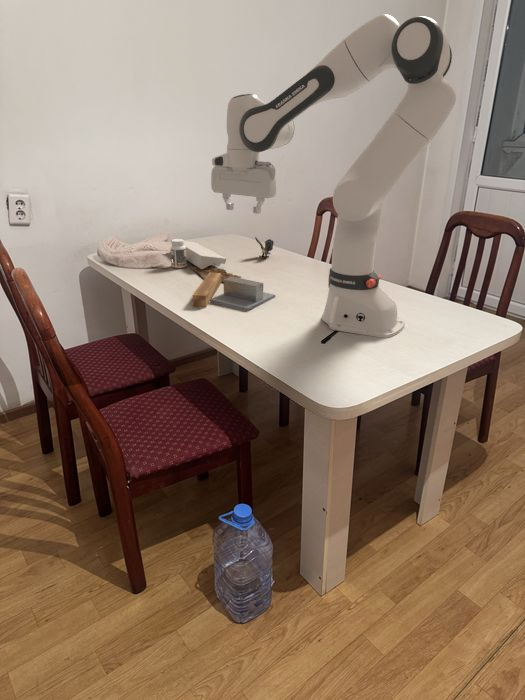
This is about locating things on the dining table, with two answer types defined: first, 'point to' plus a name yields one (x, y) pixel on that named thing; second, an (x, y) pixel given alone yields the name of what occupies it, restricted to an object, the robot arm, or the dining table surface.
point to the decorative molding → (202, 255)
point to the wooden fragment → (207, 270)
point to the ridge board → (240, 302)
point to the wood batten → (206, 290)
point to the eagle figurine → (267, 248)
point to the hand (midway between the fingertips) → (243, 211)
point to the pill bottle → (178, 253)
